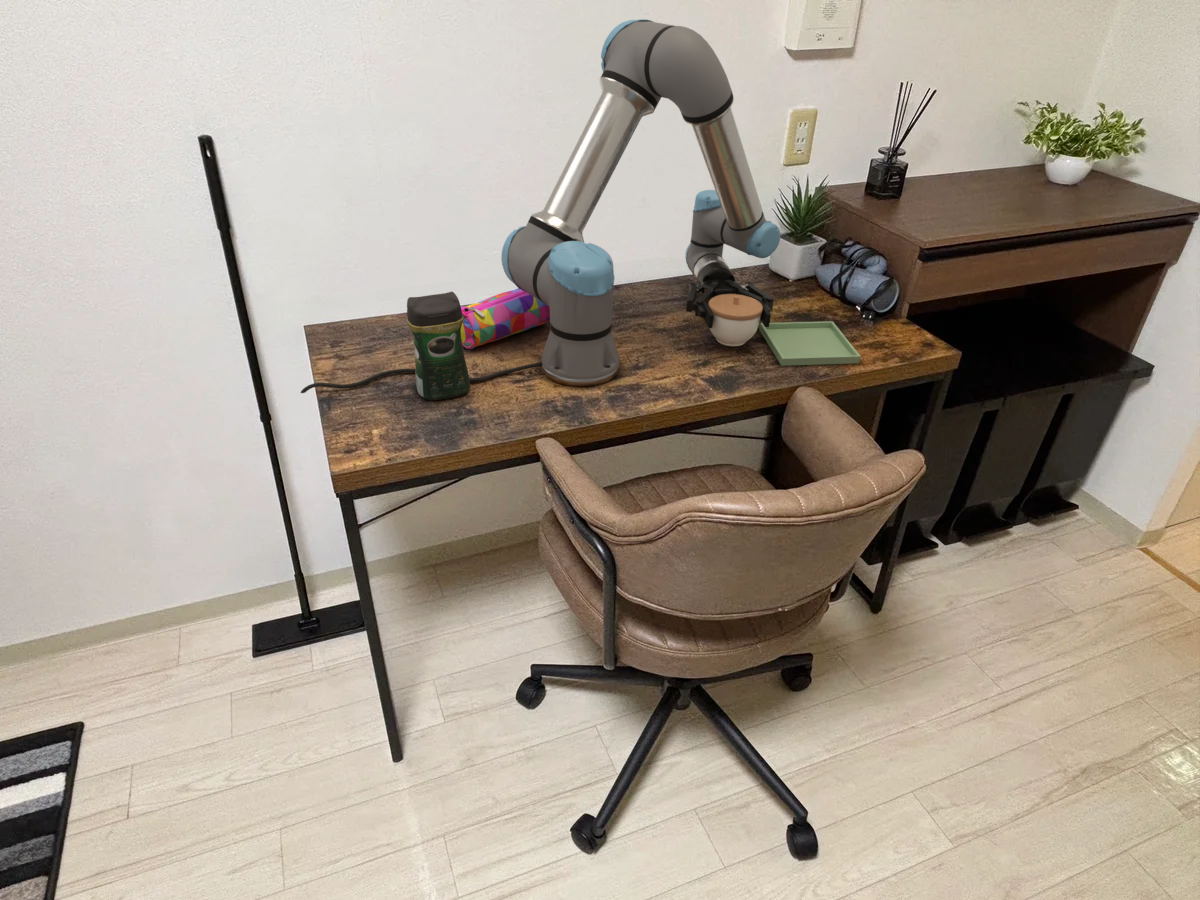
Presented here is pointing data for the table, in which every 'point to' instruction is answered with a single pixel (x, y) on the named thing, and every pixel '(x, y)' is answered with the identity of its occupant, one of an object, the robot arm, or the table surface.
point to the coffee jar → (438, 345)
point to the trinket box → (734, 318)
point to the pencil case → (501, 317)
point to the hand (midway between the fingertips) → (739, 321)
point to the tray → (809, 343)
